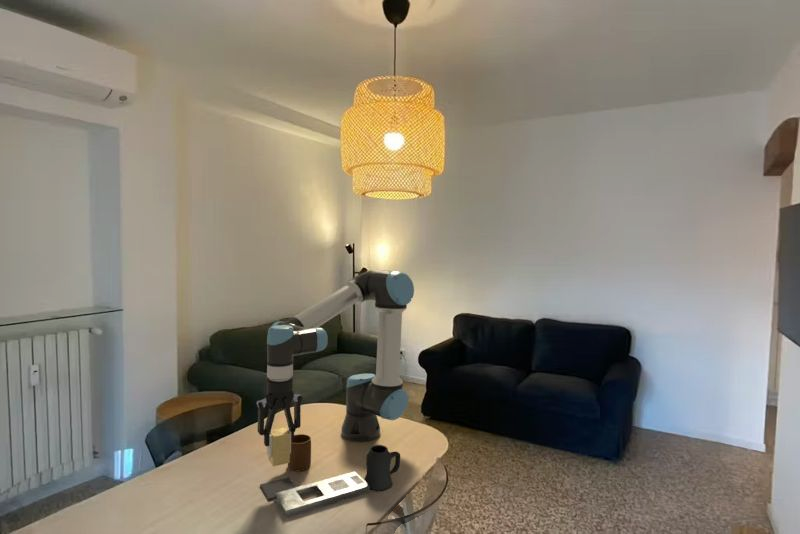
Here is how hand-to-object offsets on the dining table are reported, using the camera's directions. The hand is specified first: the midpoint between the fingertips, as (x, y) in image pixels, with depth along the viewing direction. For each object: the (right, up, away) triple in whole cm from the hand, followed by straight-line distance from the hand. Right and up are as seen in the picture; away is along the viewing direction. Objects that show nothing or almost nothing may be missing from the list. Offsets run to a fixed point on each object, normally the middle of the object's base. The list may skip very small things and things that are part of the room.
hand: (279, 453), depth 140 cm
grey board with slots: (+14, -12, -2) cm, 18 cm away
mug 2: (+31, -12, +6) cm, 33 cm away
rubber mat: (0, -11, +1) cm, 11 cm away
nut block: (0, -2, 0) cm, 2 cm away
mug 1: (+1, -11, +14) cm, 18 cm away
